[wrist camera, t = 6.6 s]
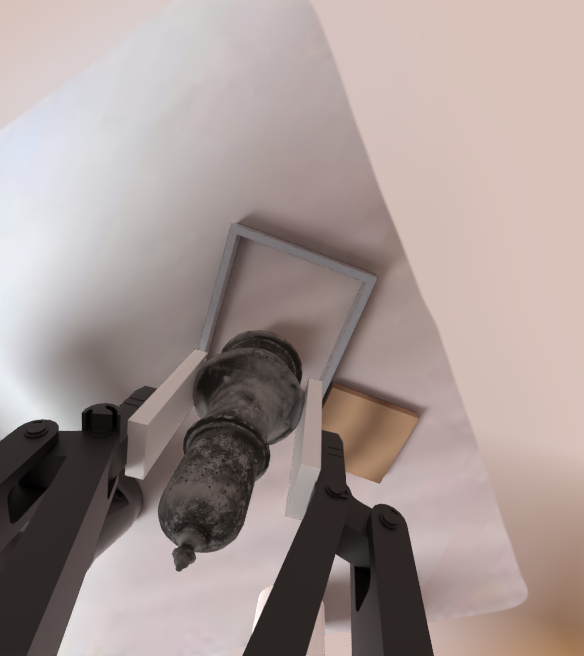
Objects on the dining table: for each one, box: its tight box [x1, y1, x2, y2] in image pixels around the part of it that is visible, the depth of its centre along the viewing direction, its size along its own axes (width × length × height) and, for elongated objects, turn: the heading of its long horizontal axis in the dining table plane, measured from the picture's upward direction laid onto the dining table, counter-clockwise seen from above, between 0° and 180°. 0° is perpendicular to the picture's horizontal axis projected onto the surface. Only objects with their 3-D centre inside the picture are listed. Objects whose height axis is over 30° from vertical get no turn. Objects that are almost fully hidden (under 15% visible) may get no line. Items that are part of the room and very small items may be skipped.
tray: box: [198, 223, 377, 399], centre depth 36 cm, size 16×19×2 cm
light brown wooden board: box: [321, 382, 419, 484], centre depth 41 cm, size 11×11×1 cm
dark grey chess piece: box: [158, 330, 304, 572], centre depth 14 cm, size 6×6×12 cm
